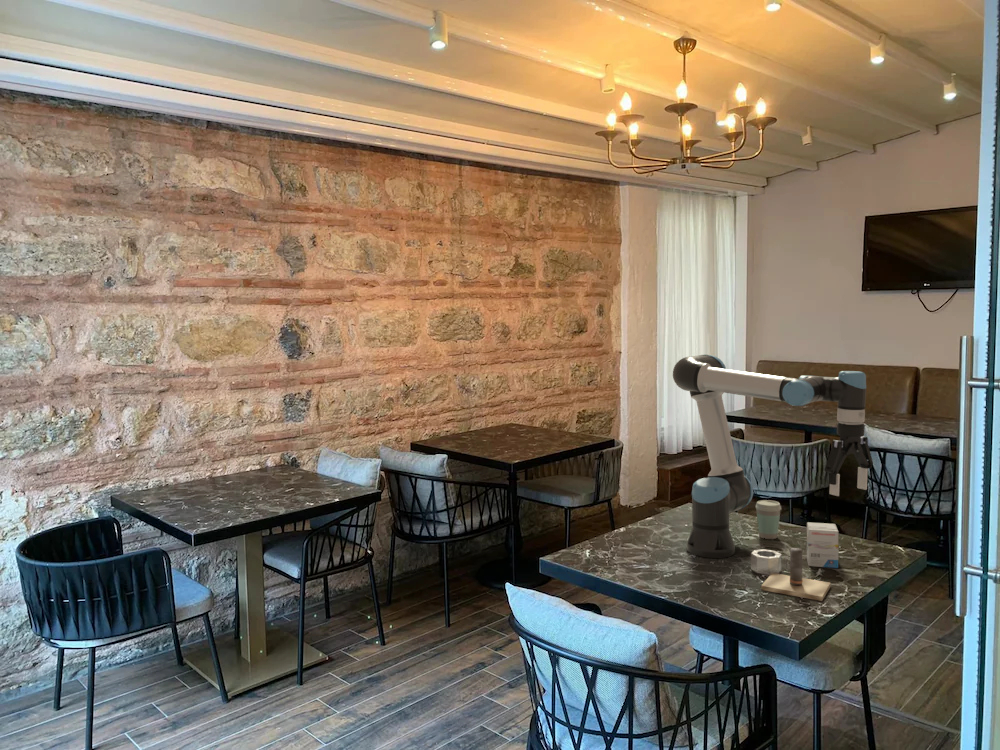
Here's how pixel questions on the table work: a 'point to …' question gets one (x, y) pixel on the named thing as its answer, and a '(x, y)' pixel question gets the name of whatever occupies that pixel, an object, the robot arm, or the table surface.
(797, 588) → the post block
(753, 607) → the table surface
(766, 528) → the coffee cup
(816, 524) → the ink box
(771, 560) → the ring
